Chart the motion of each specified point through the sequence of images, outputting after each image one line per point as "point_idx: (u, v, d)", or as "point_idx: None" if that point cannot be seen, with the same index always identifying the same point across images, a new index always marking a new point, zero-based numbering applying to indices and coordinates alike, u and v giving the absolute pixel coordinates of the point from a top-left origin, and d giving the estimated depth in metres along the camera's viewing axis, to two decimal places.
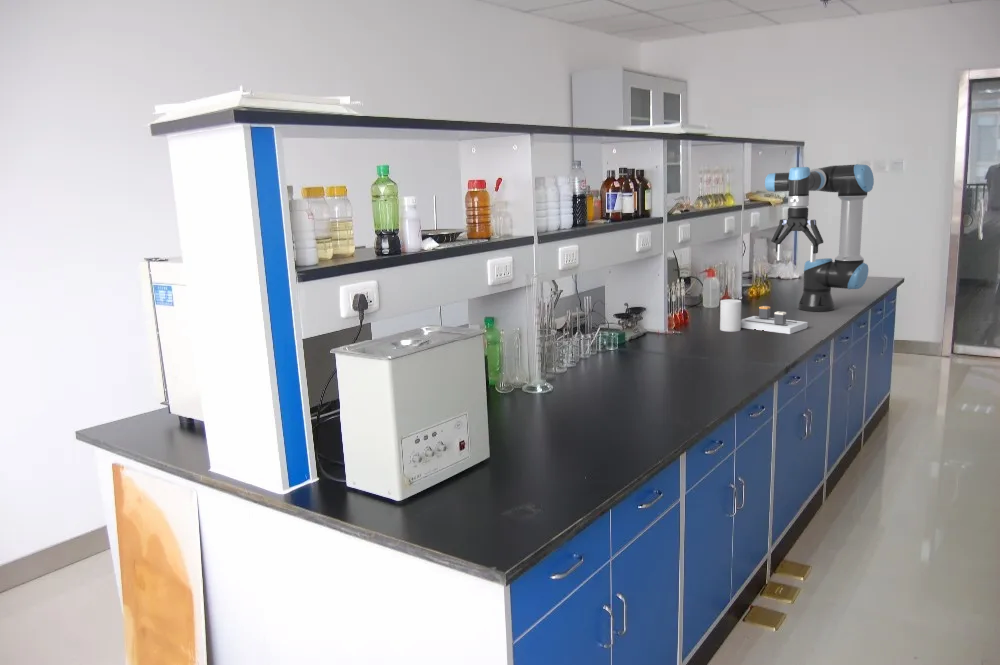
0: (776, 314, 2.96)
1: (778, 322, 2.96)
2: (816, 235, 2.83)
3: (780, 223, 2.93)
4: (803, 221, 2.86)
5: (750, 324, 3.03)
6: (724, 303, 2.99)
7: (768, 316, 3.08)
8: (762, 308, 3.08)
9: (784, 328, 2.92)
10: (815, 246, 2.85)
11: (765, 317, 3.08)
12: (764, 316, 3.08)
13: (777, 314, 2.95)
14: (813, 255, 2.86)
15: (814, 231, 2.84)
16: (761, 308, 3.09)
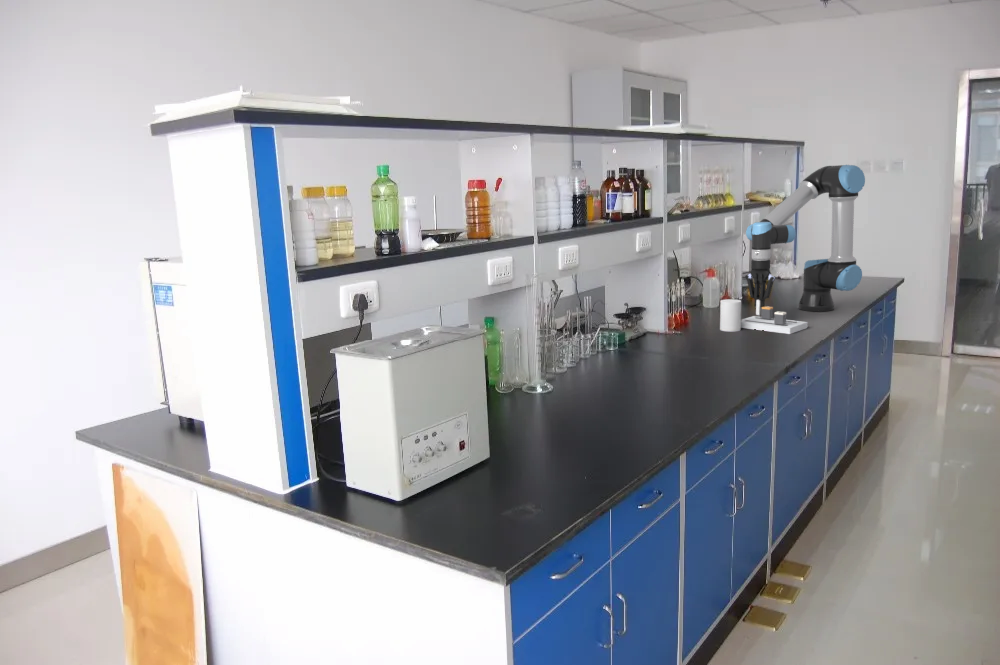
0: (776, 314, 2.96)
1: (778, 322, 2.96)
2: (767, 291, 3.06)
3: (747, 278, 3.12)
4: (766, 273, 3.05)
5: (750, 324, 3.03)
6: (724, 303, 2.99)
7: (771, 316, 3.08)
8: (765, 308, 3.08)
9: (784, 328, 2.92)
10: (762, 301, 3.09)
11: (768, 317, 3.07)
12: (767, 316, 3.08)
13: (777, 314, 2.95)
14: (760, 309, 3.10)
15: (767, 287, 3.05)
16: (763, 308, 3.08)
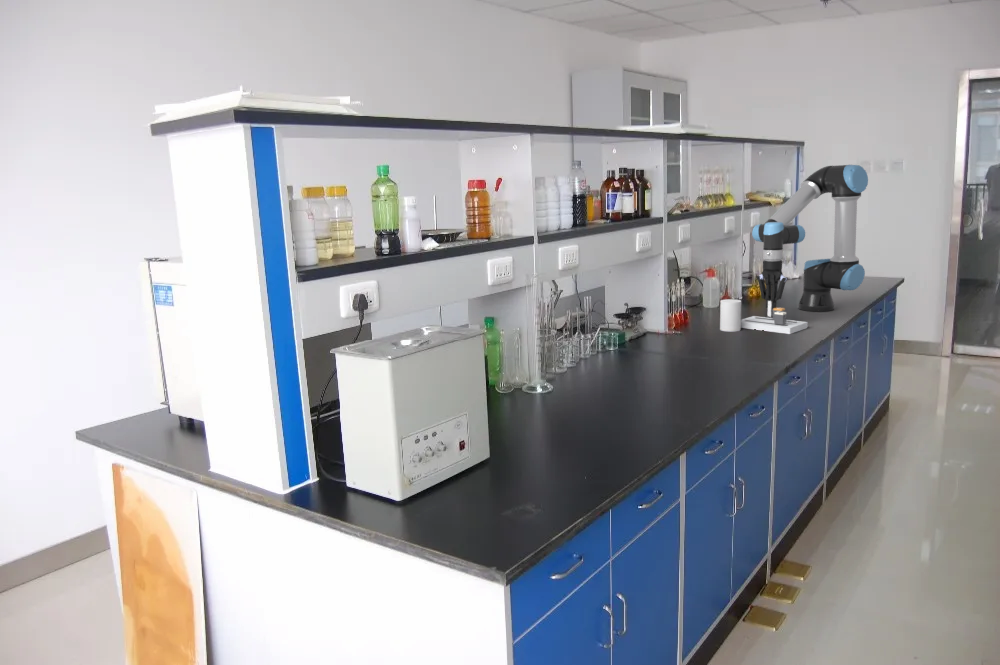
0: (776, 314, 2.96)
1: (778, 322, 2.96)
2: (778, 292, 3.02)
3: (758, 279, 3.08)
4: (778, 273, 3.01)
5: (750, 324, 3.03)
6: (724, 303, 2.99)
7: None
8: (776, 309, 3.04)
9: (784, 328, 2.92)
10: (773, 302, 3.05)
11: None
12: None
13: (777, 314, 2.95)
14: (772, 310, 3.06)
15: (779, 288, 3.01)
16: (775, 309, 3.04)
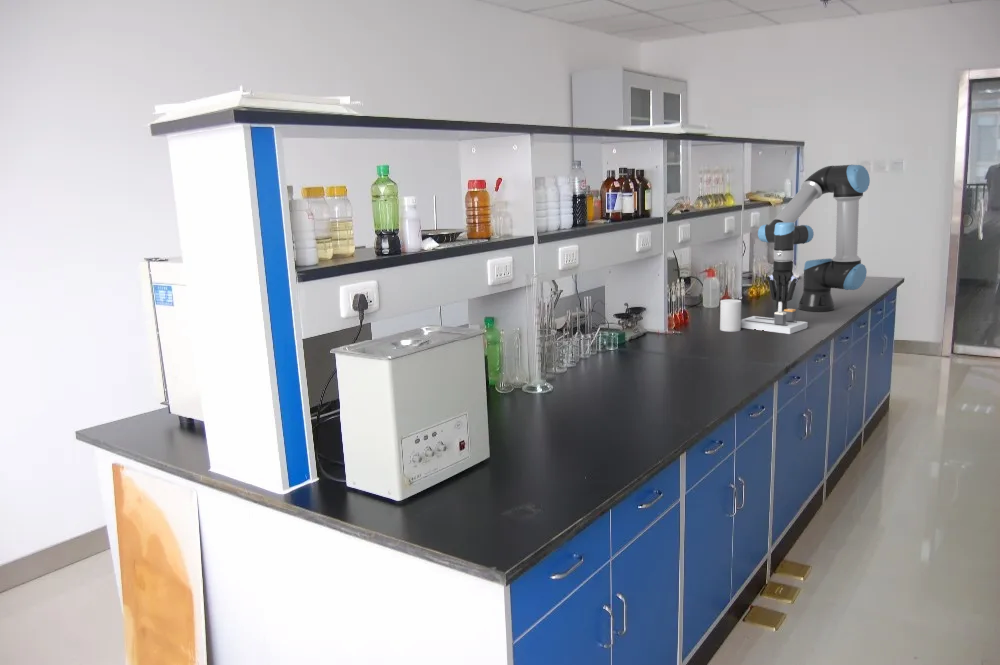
0: (776, 314, 2.96)
1: (778, 322, 2.96)
2: (789, 293, 2.99)
3: (769, 280, 3.04)
4: (788, 274, 2.98)
5: (750, 324, 3.03)
6: (724, 303, 2.99)
7: (793, 319, 3.00)
8: (787, 311, 3.00)
9: (784, 328, 2.92)
10: (784, 303, 3.02)
11: (790, 320, 3.00)
12: (789, 319, 3.00)
13: (777, 314, 2.95)
14: (782, 311, 3.03)
15: (790, 288, 2.98)
16: (786, 311, 3.01)
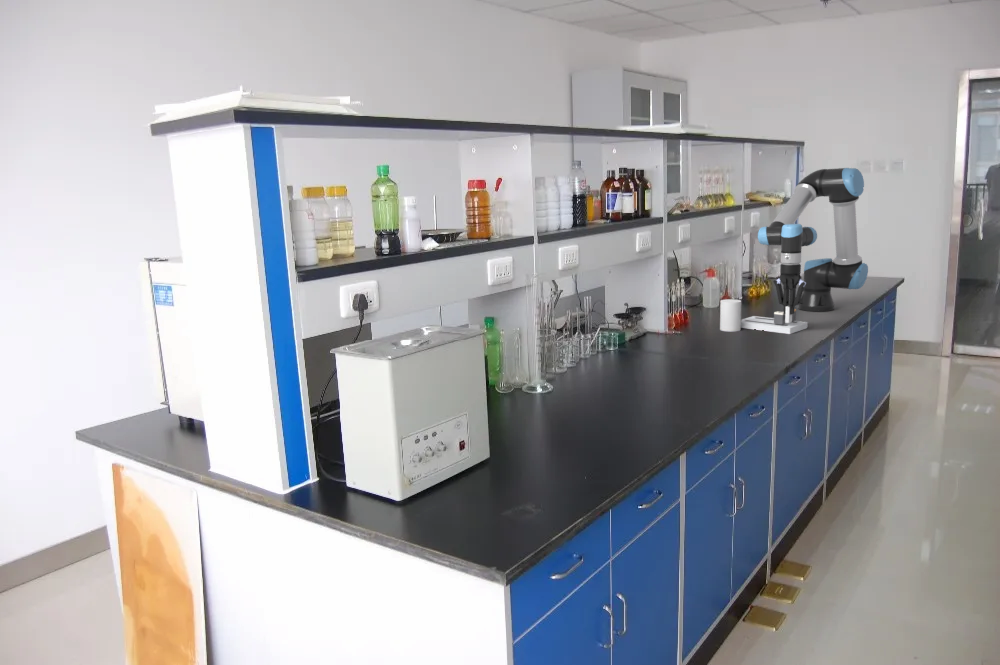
0: (776, 314, 2.96)
1: (778, 322, 2.96)
2: (797, 297, 2.88)
3: (775, 284, 2.94)
4: (796, 278, 2.87)
5: (750, 324, 3.03)
6: (724, 303, 2.99)
7: (793, 319, 3.00)
8: None
9: (784, 328, 2.92)
10: (791, 307, 2.91)
11: None
12: None
13: (777, 314, 2.95)
14: (789, 316, 2.93)
15: (798, 293, 2.88)
16: None
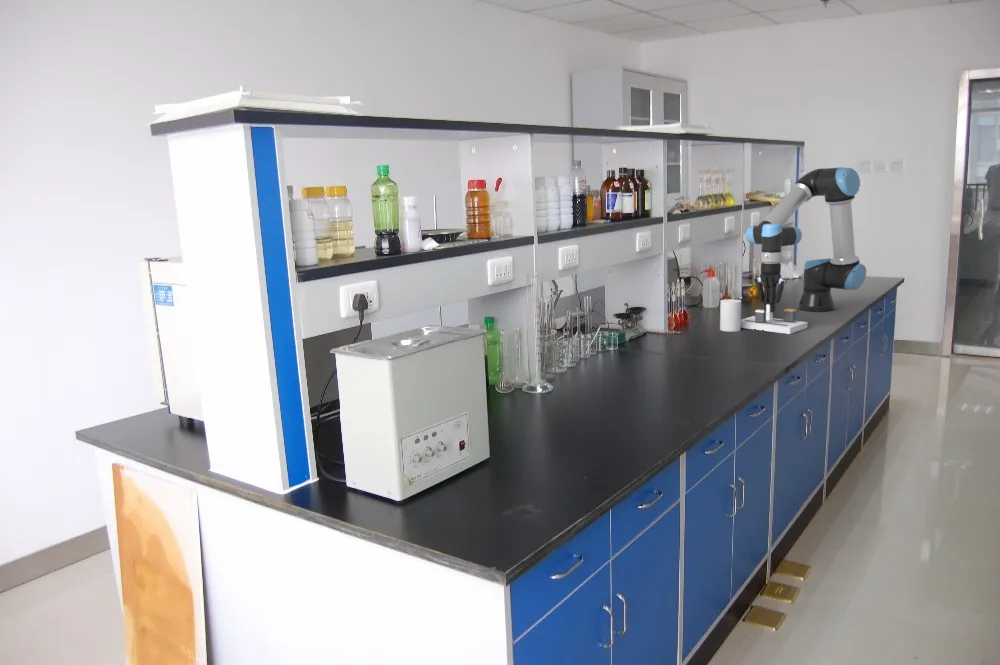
0: (757, 312, 3.02)
1: (759, 320, 3.02)
2: (777, 295, 2.94)
3: (756, 282, 3.00)
4: (776, 276, 2.93)
5: (750, 324, 3.03)
6: (724, 303, 2.99)
7: (793, 319, 3.00)
8: (787, 311, 3.00)
9: (784, 328, 2.92)
10: (772, 305, 2.97)
11: (790, 320, 3.00)
12: (789, 319, 3.00)
13: (758, 312, 3.01)
14: (770, 314, 2.99)
15: (778, 291, 2.94)
16: (786, 311, 3.01)
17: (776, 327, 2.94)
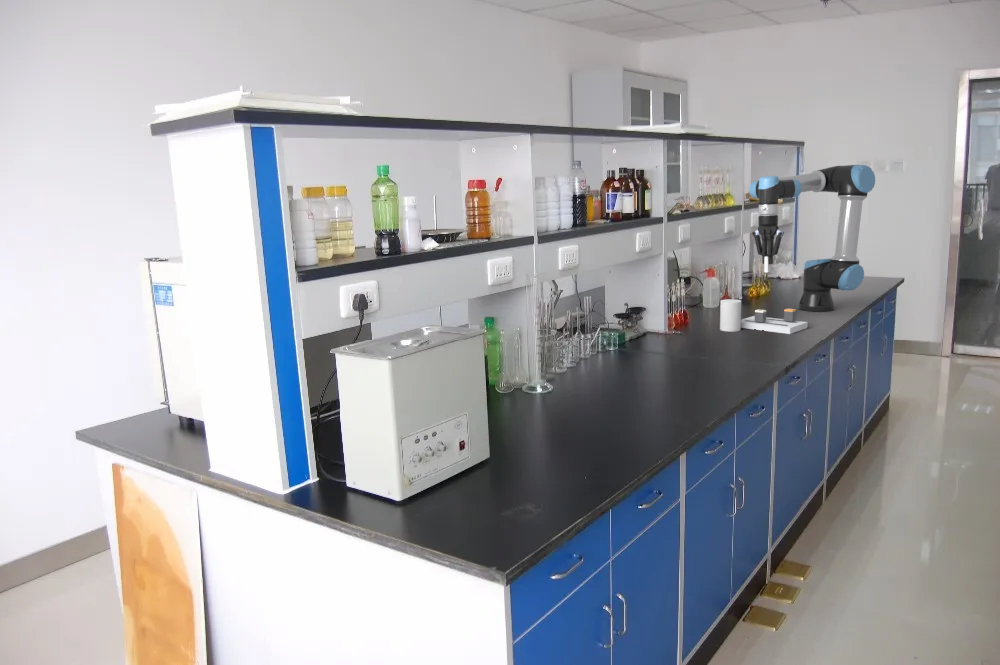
0: (756, 312, 3.02)
1: (758, 320, 3.02)
2: (775, 247, 2.99)
3: (754, 235, 3.05)
4: (774, 228, 2.98)
5: (750, 324, 3.03)
6: (724, 303, 2.99)
7: (793, 319, 3.00)
8: (787, 311, 3.00)
9: (784, 328, 2.92)
10: (770, 257, 3.02)
11: (790, 320, 3.00)
12: (789, 319, 3.00)
13: (757, 312, 3.02)
14: (768, 266, 3.04)
15: (776, 242, 2.99)
16: (786, 311, 3.01)
17: (776, 327, 2.94)
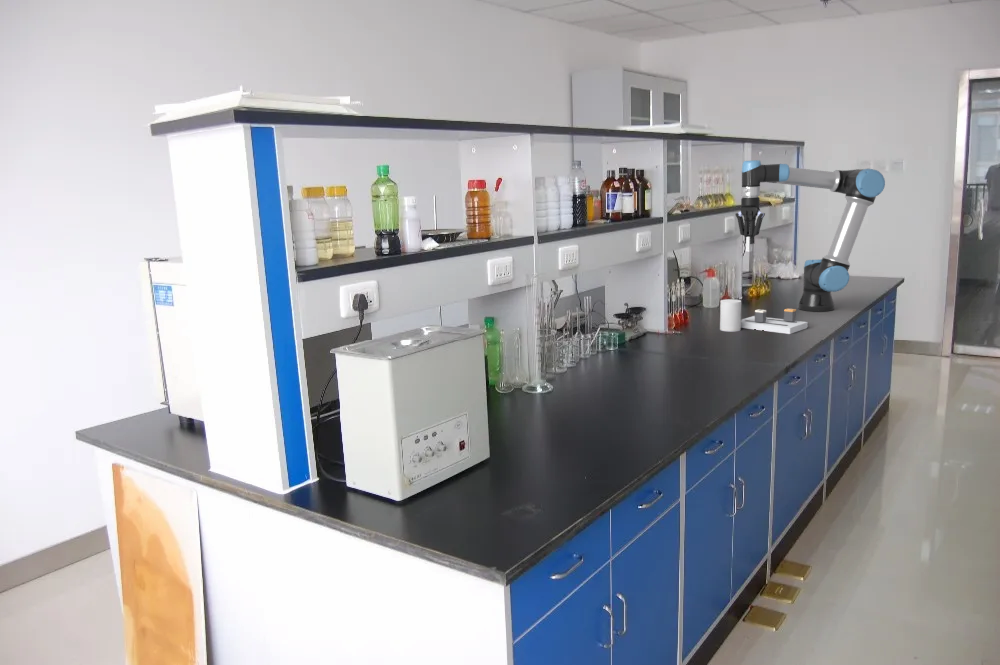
0: (756, 312, 3.02)
1: (758, 320, 3.02)
2: (756, 227, 3.16)
3: (737, 216, 3.22)
4: (755, 209, 3.15)
5: (750, 324, 3.03)
6: (724, 303, 2.99)
7: (793, 319, 3.00)
8: (787, 311, 3.00)
9: (784, 328, 2.92)
10: (751, 237, 3.19)
11: (790, 320, 3.00)
12: (789, 319, 3.00)
13: (757, 312, 3.02)
14: (750, 245, 3.21)
15: (757, 223, 3.16)
16: (786, 311, 3.01)
17: (776, 327, 2.94)
